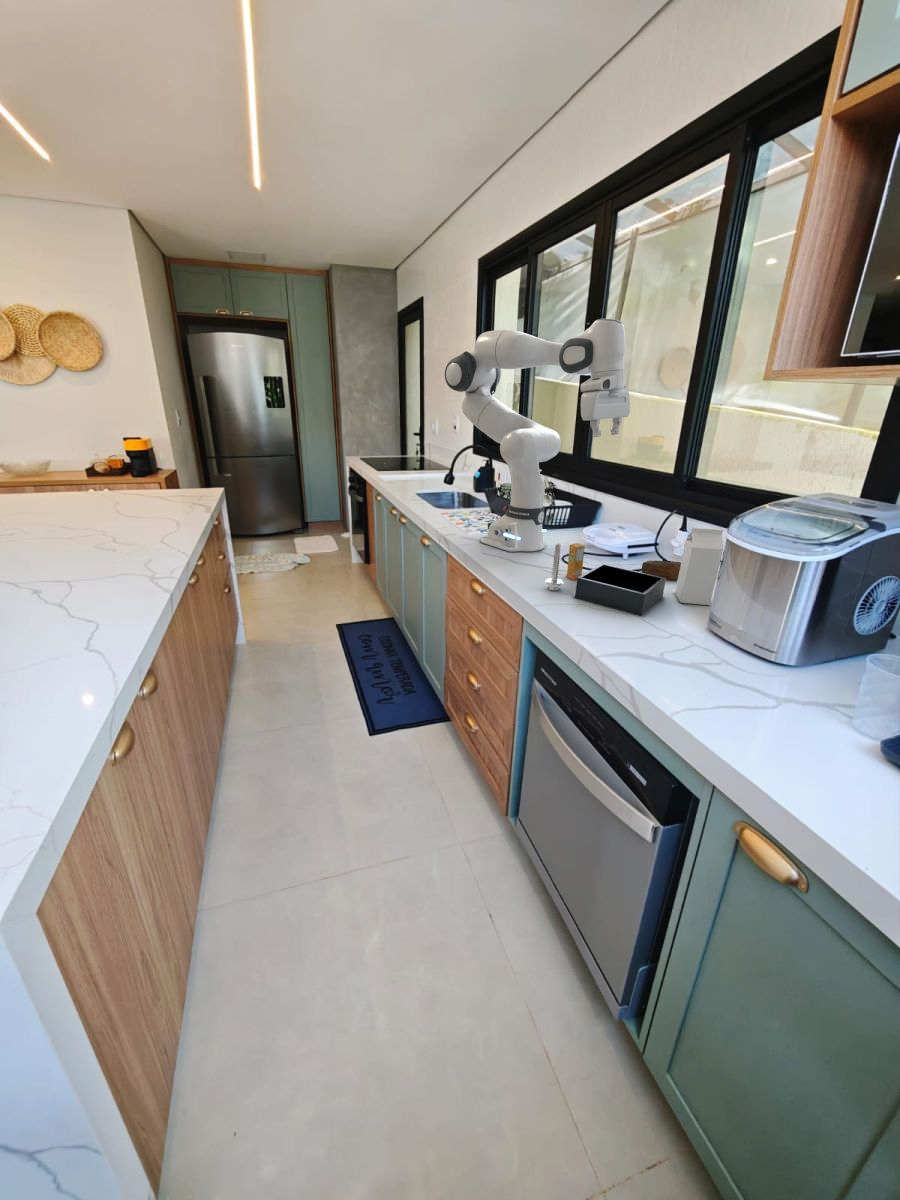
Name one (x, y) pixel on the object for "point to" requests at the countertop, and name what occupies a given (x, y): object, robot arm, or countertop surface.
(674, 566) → the brick
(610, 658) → the countertop surface
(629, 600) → the grey storage bin
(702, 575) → the milk carton
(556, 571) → the screw
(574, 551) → the supplement box
